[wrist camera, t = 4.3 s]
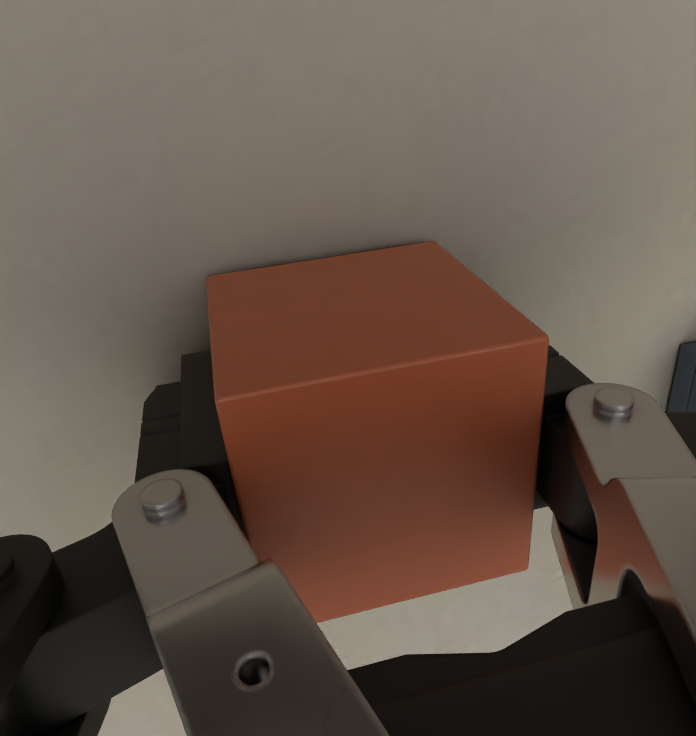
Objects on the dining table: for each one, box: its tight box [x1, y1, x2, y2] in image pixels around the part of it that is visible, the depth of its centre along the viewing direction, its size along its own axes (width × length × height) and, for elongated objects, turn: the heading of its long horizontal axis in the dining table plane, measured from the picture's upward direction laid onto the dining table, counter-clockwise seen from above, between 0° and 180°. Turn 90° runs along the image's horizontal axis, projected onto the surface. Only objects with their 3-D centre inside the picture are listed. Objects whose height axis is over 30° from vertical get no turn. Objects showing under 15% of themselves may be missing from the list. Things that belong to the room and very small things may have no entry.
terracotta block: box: [206, 241, 549, 623], centre depth 11 cm, size 4×4×4 cm
